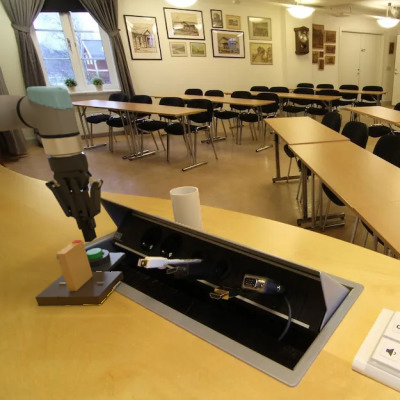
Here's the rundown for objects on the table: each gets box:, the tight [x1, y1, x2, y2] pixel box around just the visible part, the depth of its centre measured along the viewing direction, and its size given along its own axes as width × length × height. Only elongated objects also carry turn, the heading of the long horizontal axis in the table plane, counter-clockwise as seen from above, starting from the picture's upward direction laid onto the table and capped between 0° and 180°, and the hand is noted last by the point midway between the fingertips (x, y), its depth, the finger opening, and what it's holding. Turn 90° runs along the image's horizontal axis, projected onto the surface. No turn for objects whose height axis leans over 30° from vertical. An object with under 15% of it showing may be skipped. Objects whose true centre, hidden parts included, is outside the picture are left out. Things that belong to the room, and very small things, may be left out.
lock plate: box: [34, 271, 125, 307], centre depth 78 cm, size 14×10×3 cm
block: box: [88, 249, 127, 272], centre depth 89 cm, size 11×9×3 cm
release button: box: [86, 247, 103, 260], centre depth 88 cm, size 4×4×2 cm
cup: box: [169, 185, 205, 232], centre depth 103 cm, size 8×8×16 cm
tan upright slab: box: [56, 239, 93, 291], centre depth 75 cm, size 6×2×10 cm, turn 1°
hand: (91, 239), depth 86 cm, fingers closed
